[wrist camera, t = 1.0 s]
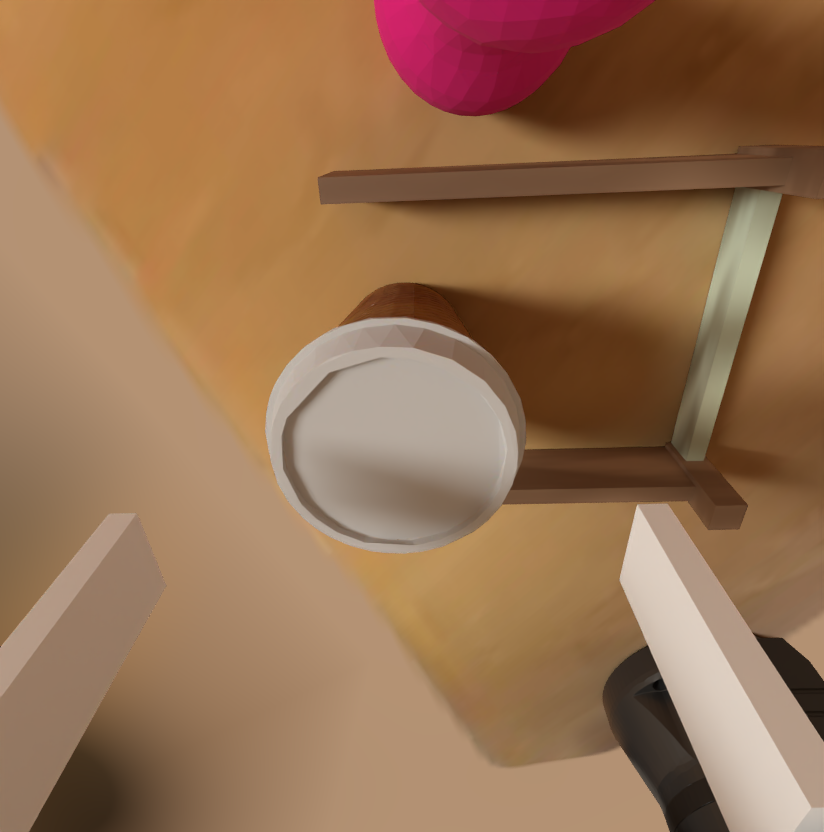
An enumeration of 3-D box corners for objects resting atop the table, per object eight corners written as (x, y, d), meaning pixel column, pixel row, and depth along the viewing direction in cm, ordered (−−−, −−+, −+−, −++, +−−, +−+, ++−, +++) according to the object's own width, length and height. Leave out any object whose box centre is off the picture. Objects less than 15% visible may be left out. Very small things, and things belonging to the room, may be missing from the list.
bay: (686, 463, 31) (739, 529, 26) (364, 470, 32) (353, 535, 27) (774, 144, 23) (879, 147, 18) (332, 164, 24) (306, 172, 18)
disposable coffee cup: (466, 225, 25) (498, 291, 14) (507, 390, 29) (554, 533, 19) (290, 282, 26) (204, 379, 16) (354, 430, 31) (319, 583, 20)
